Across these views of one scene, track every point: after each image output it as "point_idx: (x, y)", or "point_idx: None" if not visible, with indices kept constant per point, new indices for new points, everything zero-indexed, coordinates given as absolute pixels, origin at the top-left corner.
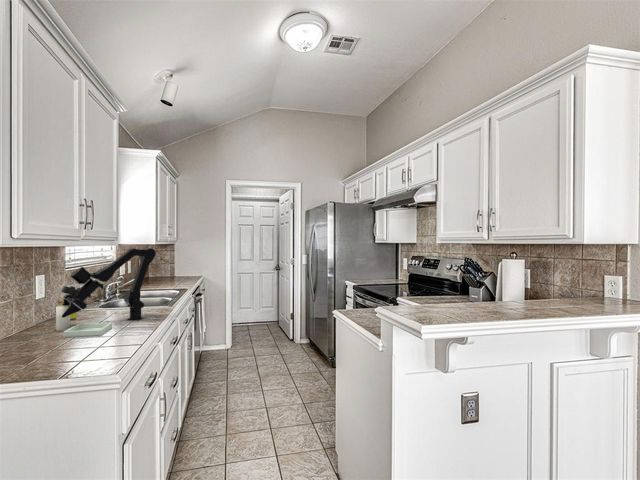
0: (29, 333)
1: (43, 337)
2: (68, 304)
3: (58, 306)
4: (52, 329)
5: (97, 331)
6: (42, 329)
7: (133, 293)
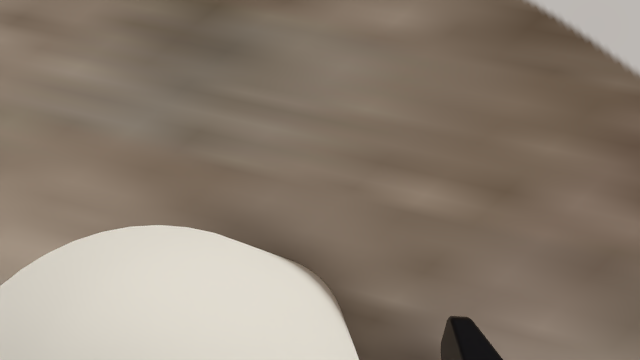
0: (332, 6)
1: (8, 64)
2: None
3: (246, 320)
4: (361, 240)
5: None
6: (452, 154)
7: None
